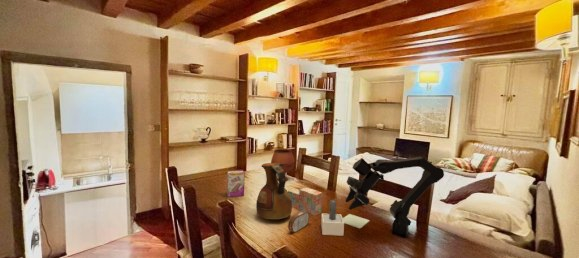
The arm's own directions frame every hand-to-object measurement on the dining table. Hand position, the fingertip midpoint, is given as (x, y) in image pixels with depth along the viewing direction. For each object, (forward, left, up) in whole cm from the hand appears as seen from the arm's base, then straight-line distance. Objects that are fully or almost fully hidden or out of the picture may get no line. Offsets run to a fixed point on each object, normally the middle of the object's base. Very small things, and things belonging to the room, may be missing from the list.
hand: (347, 205), depth 126 cm
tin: (+19, +14, -14) cm, 27 cm away
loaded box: (+6, +4, -13) cm, 15 cm away
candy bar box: (+79, +6, -14) cm, 80 cm away
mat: (+2, -13, -13) cm, 19 cm away
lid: (+6, +4, -8) cm, 11 cm away
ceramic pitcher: (+38, +12, -14) cm, 42 cm away
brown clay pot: (+80, -43, -14) cm, 92 cm away
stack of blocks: (+32, -8, -14) cm, 36 cm away
